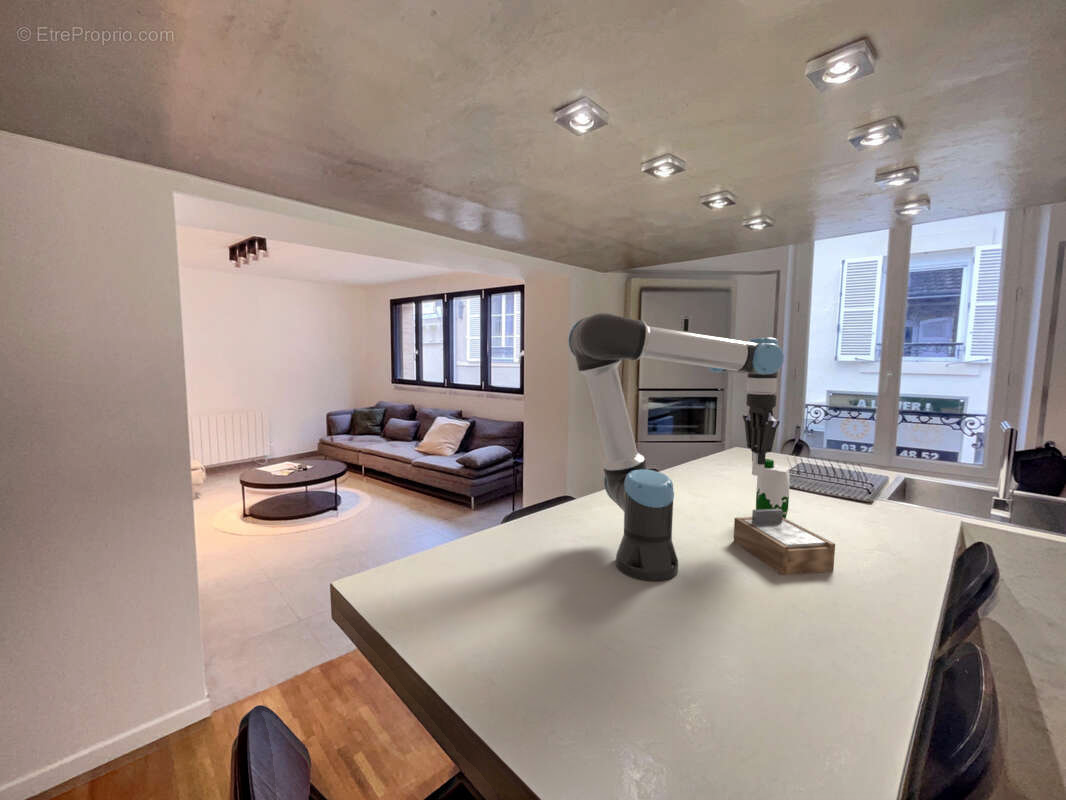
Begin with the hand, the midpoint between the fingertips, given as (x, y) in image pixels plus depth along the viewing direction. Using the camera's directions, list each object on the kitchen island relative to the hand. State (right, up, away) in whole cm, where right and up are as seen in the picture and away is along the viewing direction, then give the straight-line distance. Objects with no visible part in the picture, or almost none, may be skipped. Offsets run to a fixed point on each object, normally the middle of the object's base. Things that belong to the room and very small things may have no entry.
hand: (757, 474), depth 128 cm
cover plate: (+1, -14, -10) cm, 17 cm away
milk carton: (+12, -18, +15) cm, 26 cm away
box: (+1, -20, -9) cm, 22 cm away
